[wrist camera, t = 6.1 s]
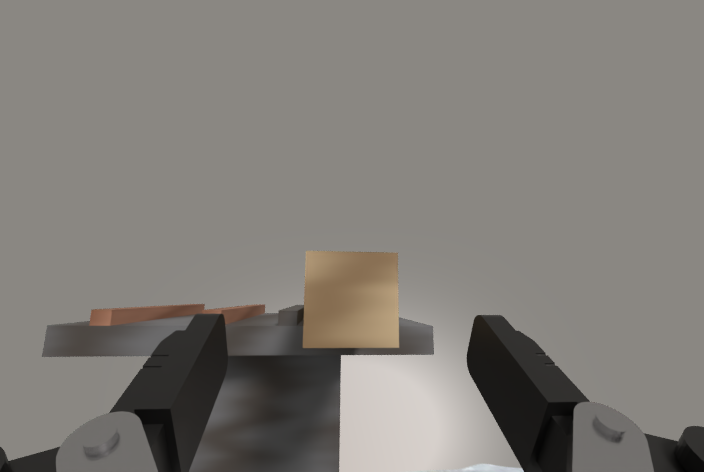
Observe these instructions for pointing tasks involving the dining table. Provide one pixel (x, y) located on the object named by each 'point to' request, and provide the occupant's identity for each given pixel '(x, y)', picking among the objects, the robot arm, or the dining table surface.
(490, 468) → the dining table surface
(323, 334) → the oak bar
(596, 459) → the robot arm
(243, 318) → the grey pedestal stand
